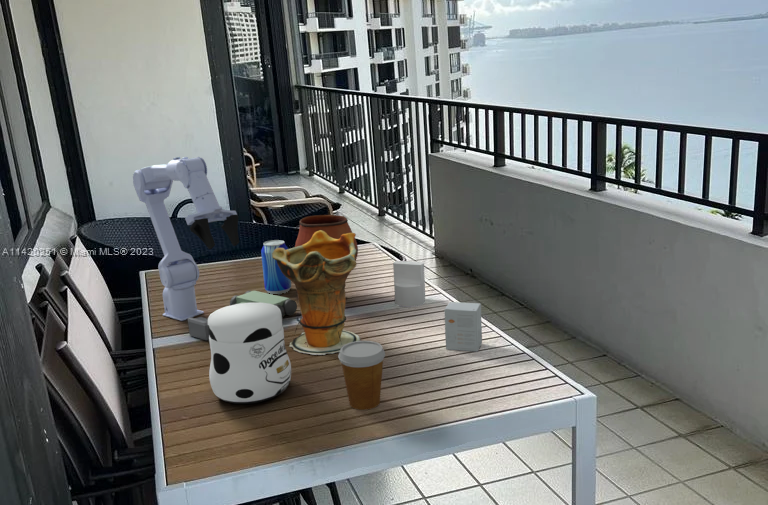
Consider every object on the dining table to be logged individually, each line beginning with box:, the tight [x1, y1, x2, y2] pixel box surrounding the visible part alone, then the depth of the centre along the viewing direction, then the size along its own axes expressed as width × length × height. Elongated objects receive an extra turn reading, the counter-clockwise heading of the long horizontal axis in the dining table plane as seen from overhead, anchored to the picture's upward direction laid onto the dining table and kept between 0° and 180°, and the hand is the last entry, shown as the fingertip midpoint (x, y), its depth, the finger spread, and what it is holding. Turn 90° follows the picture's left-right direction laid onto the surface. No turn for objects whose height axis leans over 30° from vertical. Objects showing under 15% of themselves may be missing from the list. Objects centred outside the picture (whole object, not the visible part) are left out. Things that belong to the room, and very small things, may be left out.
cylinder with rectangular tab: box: [392, 260, 426, 308], centre depth 200 cm, size 9×9×12 cm
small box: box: [443, 301, 483, 353], centre depth 166 cm, size 8×6×10 cm
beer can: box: [260, 239, 292, 295], centre depth 216 cm, size 8×8×16 cm
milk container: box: [207, 302, 292, 405], centre depth 146 cm, size 17×17×18 cm
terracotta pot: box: [294, 214, 359, 262], centre depth 205 cm, size 19×19×25 cm
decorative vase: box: [272, 230, 361, 356], centre depth 171 cm, size 21×23×28 cm
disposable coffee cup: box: [337, 340, 386, 411], centre depth 140 cm, size 10×10×12 cm
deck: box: [229, 290, 298, 319], centre depth 197 cm, size 18×14×4 cm
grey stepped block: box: [187, 316, 209, 341], centre depth 184 cm, size 7×10×5 cm
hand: (224, 245), depth 173 cm, fingers open, 7 cm apart
